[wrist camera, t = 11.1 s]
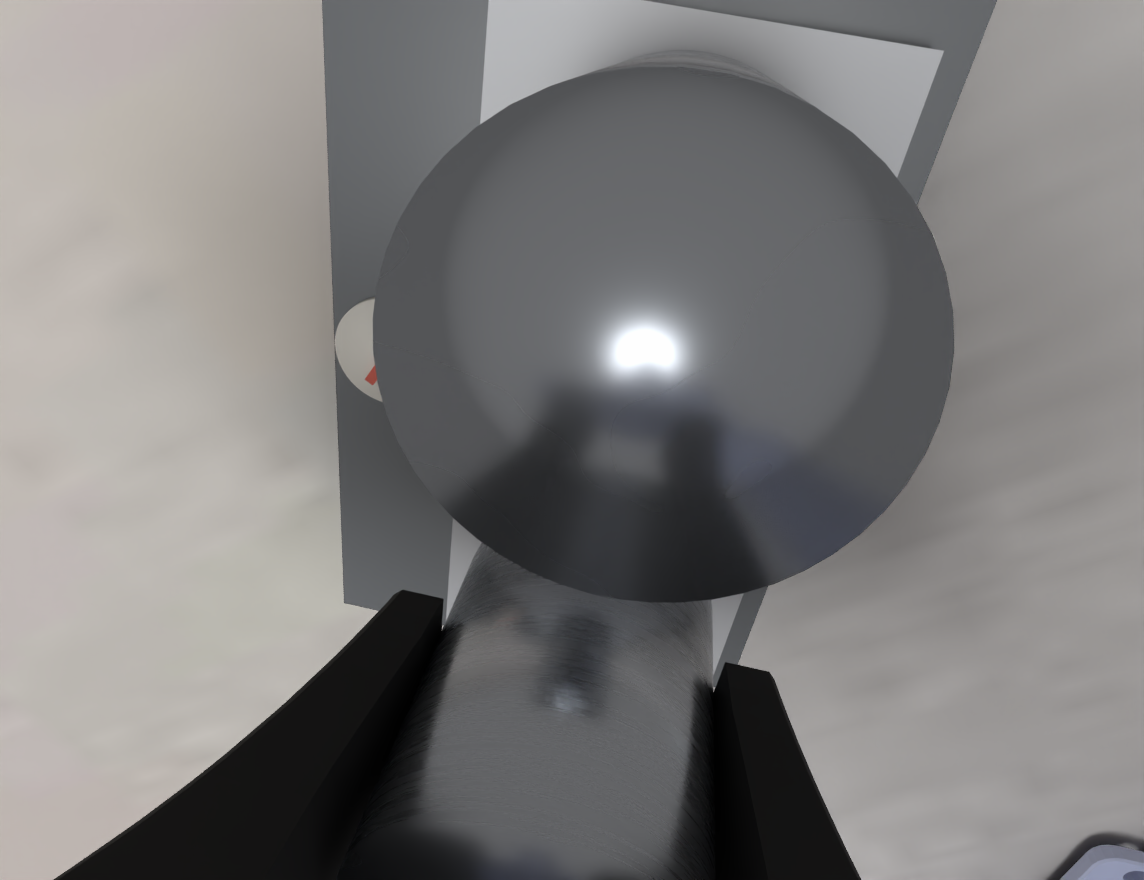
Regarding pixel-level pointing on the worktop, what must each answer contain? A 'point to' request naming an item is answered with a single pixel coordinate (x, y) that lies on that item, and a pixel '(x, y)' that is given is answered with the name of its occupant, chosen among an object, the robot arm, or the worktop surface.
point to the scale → (519, 69)
